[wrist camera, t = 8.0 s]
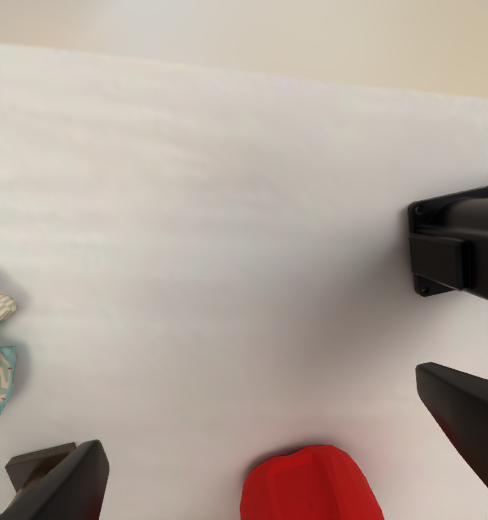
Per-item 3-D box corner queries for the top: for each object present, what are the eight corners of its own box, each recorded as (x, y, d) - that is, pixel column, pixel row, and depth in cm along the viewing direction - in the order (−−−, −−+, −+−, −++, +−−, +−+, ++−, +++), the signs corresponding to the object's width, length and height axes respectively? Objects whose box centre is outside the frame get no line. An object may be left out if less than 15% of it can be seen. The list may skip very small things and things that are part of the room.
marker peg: (74, 442, 21) (31, 514, 16) (93, 491, 22) (58, 574, 17) (11, 457, 21) (-52, 535, 16) (33, 506, 22) (-20, 594, 17)
